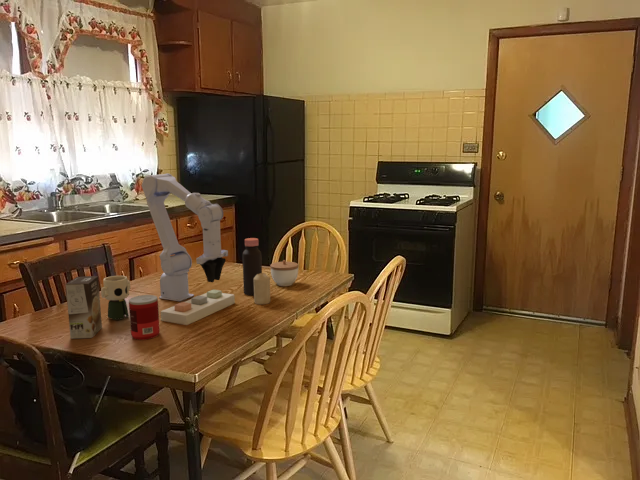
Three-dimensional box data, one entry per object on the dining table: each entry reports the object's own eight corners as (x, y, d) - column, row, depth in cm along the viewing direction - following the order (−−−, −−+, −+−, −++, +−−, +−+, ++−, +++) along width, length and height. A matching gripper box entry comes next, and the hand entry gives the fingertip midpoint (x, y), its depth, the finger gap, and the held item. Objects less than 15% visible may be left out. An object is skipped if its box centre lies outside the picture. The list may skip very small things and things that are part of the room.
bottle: (240, 294, 201) (238, 240, 197) (249, 290, 207) (247, 237, 203) (256, 296, 198) (255, 241, 195) (265, 291, 204) (264, 238, 201)
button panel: (161, 320, 173) (160, 311, 173) (211, 299, 195) (210, 291, 195) (186, 325, 169) (186, 315, 168) (234, 303, 191) (234, 294, 190)
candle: (267, 304, 188) (266, 276, 187) (252, 304, 190) (251, 275, 188) (272, 300, 194) (271, 272, 192) (257, 299, 195) (256, 271, 193)
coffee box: (93, 338, 158) (88, 283, 155) (69, 339, 158) (64, 284, 155) (102, 327, 167) (98, 275, 164) (80, 328, 167) (76, 276, 164)
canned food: (165, 332, 163) (163, 295, 161) (148, 341, 156) (145, 303, 153) (143, 329, 165) (140, 293, 163) (125, 338, 158) (122, 301, 156)
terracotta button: (174, 313, 174) (174, 304, 173) (182, 310, 177) (182, 301, 176) (184, 315, 172) (183, 306, 172) (191, 311, 175) (191, 303, 175)
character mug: (112, 325, 169) (108, 283, 167) (96, 321, 173) (92, 280, 171) (139, 315, 179) (137, 275, 176) (124, 311, 182) (121, 273, 180)
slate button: (191, 306, 181) (191, 298, 180) (198, 303, 184) (198, 295, 184) (200, 308, 179) (200, 299, 179) (207, 305, 182) (207, 296, 182)
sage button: (206, 300, 188) (206, 292, 187) (213, 297, 191) (213, 289, 191) (215, 301, 186) (215, 293, 186) (222, 298, 189) (221, 290, 189)
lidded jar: (304, 282, 217) (303, 259, 215) (287, 289, 208) (287, 264, 206) (281, 279, 222) (281, 256, 221) (265, 285, 213) (264, 261, 212)
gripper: (208, 245, 177) (210, 287, 179) (234, 238, 190) (236, 277, 192) (190, 244, 180) (192, 284, 182) (217, 236, 193) (219, 275, 195)
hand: (213, 280), depth 187 cm, fingers open, 3 cm apart
